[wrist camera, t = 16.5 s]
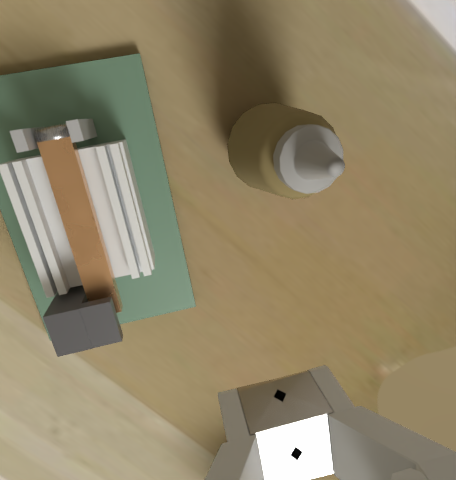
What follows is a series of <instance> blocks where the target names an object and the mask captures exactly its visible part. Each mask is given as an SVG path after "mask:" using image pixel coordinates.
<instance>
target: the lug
mask: <svg viewBox="0 0 456 480" xmlns="http://www.w3.org/2000/svg"><path fill="white" fill-rule="evenodd" d="M43 320H44V322H45V325H46V328H47V330H48V333H49V335H50V338H51V341H52V343H53V346H54V349H55V351H56V354H57V356H58V357H59V356H63V355H67V354H71V353H76V352H80V351H84V350H88V349H92V348H95V347H100V346H104V345H108V344H112V343H116V342H121V341H122V339H123V333H122V330H121V327H120V323H119V320H118V317H117V313H116V310H115V307H114V303H113V300H112V297H107V298H103V299H98V300H94V301H89V302H88V300H87V297H86V294H85V291H84V288H83V285H80V286H76V287H71V288H70V289H69V291H68V292H67V294H62V295H59V293H58V292H57V294H56V295H55V297H54V299H53V300H52V302H51V304H50V305H49V307H48V309H47V311H46V312H45V314H44V316H43Z"/></svg>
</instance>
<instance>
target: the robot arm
mask: <svg viewBox="0 0 456 480" xmlns="http://www.w3.org/2000/svg"><path fill="white" fill-rule="evenodd" d="M218 399H219V404H220V409H221V414H222V419H223V424H224V429H225V433H226V438H227V442H226V443H223V444H221V446H220V448H219V450H218V452H217V455H216V457H215V459H214V461H213V463H212V465H211V467H210V469H209V471H208V474H207V476H206V478H205V480H309V479H313V478H316V477H320V476H324V475H328V474H332V473H334V475H335V476H336V477H337V478H339V479H340V480H456V452H455V451H453V450H451V449H449V448H447V447H444V446H443V445H441V444H438V443H436V442H434V441H432V440H430V439H428V438H426V437H424V436H422V435H420V434H418V433H416V432H414V431H412V430H410V429H407V428H406V427H403V426H401V425H399V424H397V423H395V422H393V421H391V420H389V419H387V418H385V417H383V416H380V415H379V414H377V413H375V412H373V411H371V410H368V409H366V408H364V407H362V406H358V407H355V406H354V405H353V403H352V402H351V400H350V399H349V397H348V396H347V394H346V393H345V391H344V390H343V388H342V387H341V385H340V384H339V382H338V381H337V380H336V378H335V377H334V375H333V374H332V372H331V371H330V369H329V368H328V367H327V366H326V365H323V366H320V367H316V368H312V369H309V370H307V371H303V372H299V373H296V374H292V375H288V376H284V377H281V378H277V379H273V380H269V381H264V382H260V383H256V384H252V385H247V386H243V387H239V388H237V389H232V390H227V391H223V392H219V393H218Z"/></svg>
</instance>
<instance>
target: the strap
mask: <svg viewBox="0 0 456 480" xmlns="http://www.w3.org/2000/svg"><path fill="white" fill-rule="evenodd" d="M34 132H35V137H36V140H37V144H38V147H39V151H40V154H41V157H42V160H43V163H44V166H45V169H46V172H47V175H48V179H49V182H50V185H51V188H52V191H53V194H54V197H55V200H56V203H57V207H58V210H59V213H60V216H61V219H62V222H63V225H64V228H65V232H66V235H67V238H68V241H69V244H70V247H71V250H72V253H73V256H74V260H75V263H76V266H77V269H78V272H79V275H80V278H81V281H82V284H83V288H84V291H85V294H86V297H87V300H88V302H89V301H94V300H98V299H103V298H107V297H112V300H113V303H114V307H115V310H116V313H118V312H122V307H123V305H122V301H121V298H120V294H119V291H118V287H117V284H116V280H115V277H114V274H113V270H112V267H111V263H110V260H109V256H108V253H107V249H106V246H105V243H104V239H103V236H102V232H101V229H100V225H99V222H98V218H97V215H96V211H95V208H94V205H93V201H92V198H91V194H90V191H89V187H88V184H87V180H86V177H85V174H84V170H83V167H82V163H81V160H80V156H79V153H78V149H77V146H76V142H74V143H72V141H71V138H70V134H69V131H68V128H67V124H66V123H65V124H59V125H54V126H48V127H42V128H36V129H35V130H34Z"/></svg>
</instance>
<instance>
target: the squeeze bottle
mask: <svg viewBox="0 0 456 480" xmlns="http://www.w3.org/2000/svg"><path fill="white" fill-rule="evenodd" d="M228 155H229V162H230V164H231V166H232V168H233V170H234V172H235V174H236V176H237V177H238V178H240V179H241V180H242V181H243V182H245V183H246V184H247V185H248V186H250V187H253V188H256V189H260V190H263V191H266V192H269V193H272V194H275V195H279V196H282V197H286V198H290V199H298V198H306V197H309V196H311V195H313V194H315V193H317V192H320V191H322V190H323V189H325V188H327V187H329V186H330V185H331V184H332V183H333V181H334V180H335V179H336V178H337V177H338V176H339V175H341V174H342V173H343V171H344V168H345V164H344V161H343V148H342V145H341V143H340V140H339V138H338V137H337V136H336V134H335V132H334V129H333V127H332V126H331V125H330V124H329V123H328V122H327V121H326V120H325V119H324V118H323V117H322V116H320V115H317V114H314V113H311V112H308V111H305V110H301V109H297V108H293V107H290V106H286V105H282V104H278V103H268V104H258V105H257V106H255V107H253V108H251V109H250V110H248V111H246V112H244V113H243V114H242V115H241V117H240V118H239V119H238V121H237V122H236V123H235V125H234V126H233V127H232V130H231V134H230V137H229V141H228Z"/></svg>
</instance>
